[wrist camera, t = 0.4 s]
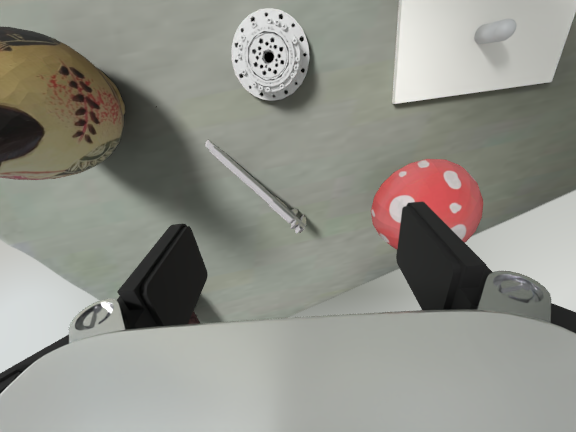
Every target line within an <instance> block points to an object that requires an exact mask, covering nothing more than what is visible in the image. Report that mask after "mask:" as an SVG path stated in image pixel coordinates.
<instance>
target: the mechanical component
mask: <svg viewBox="0 0 576 432" xmlns="http://www.w3.org/2000/svg"><path fill="white" fill-rule="evenodd" d="M266 14H268V16H267V17H266V16H265V15H266ZM280 15H282V16H283V19H279V16H280ZM253 18H255V21H252V19H253ZM292 25H295V27H292ZM243 29H244V31H243ZM242 31H243V33H242ZM301 37H302V38H303V39H304V41H302V42H301V41H300V40H299V39H300V38H301ZM284 42H285V43H284ZM237 43H238V47H236V45H237ZM267 43H269V44H268V45H267V46H266V44H267ZM285 44H286V45H285ZM276 46H277V48H276V49H274V47H276ZM271 47H272V49H271ZM287 47H288V49H287ZM259 48H262V49H261V50H260V49H259ZM280 48H282V49H283V51H280ZM270 50H271V51H270ZM268 51H269V52H272V53H273V55H274V60H273V61H272V62H271V63H267V62H266V59H265V58H264V55H265V54H267V53H268ZM264 52H265V53H264ZM266 52H267V53H266ZM260 53H261V55H260ZM304 54H306V57H304V56H303V55H304ZM278 55H281V57H280V58H278ZM288 55H289V57H288ZM257 57H259V59H257ZM309 59H310V58H309V46H308V42H307V39H306V36H305V34H304V31H303V29H302V27H301V26H300V25H299V24H298V22H297V21H296V20H295V19H294V18H293V17H291V16H290V15H289V14H287V13H285V12H283V11H281V10H278V9H273V8H268V9H260V10H258V11H255V12H253V13H251V14H250V15H249V16H247V17H246V18H245V19H244V20H243V21H242V23H241V24H240V25H239V27H238V28H237V31H236V33H235V35H234V39H233V43H232V63H233V67H234V71H235V74H236V76H237V78H238V79H239V81H240V83H241V84H242V85H243V86H244V88H245V89H246V90H247V91H248V92H250V93H251V94H252V95H254V96H256V97H258V98H260V99H263V100H269V101H273V100H280V99H283V98H285V97H287V96H289V95H291V94H293V93H294V92H295V91H296V90H297V88H298V87H299V86H300V85H301V84H302V82H303V80H304V78H305V76H306V74H307V70H308V64H309ZM237 60H238V62H237ZM276 60H278V61H277V62H276ZM282 60H284V64H283V63H282V64H281V61H282ZM265 62H266V63H265ZM277 63H278V67H276V64H277ZM262 65H263V67H264V68H262V67H261V66H262ZM266 66H267V68H266ZM269 68H271V71H269ZM302 68H304V70H305V71H304V73H302V72H301V71H300V70H301V69H302ZM275 70H277V73H274V71H275ZM264 71H266V73H265V72H264ZM283 72H284V73H283ZM282 73H283V74H282ZM241 74H243V78H242V77H241ZM278 77H279V78H278ZM272 79H274V80H272ZM295 82H297V83H298V84H297V85H295ZM250 86H251V87H252V88H250ZM285 90H287V91H288V93H287V94H285V92H284V91H285ZM261 92H262V93H263V94H264V95H263V96H262V95H260V93H261ZM273 95H275V97H273Z"/></svg>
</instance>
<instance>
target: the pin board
mask: <svg viewBox="0 0 576 432" xmlns="http://www.w3.org/2000/svg"><path fill="white" fill-rule="evenodd" d="M575 13H576V0H399V8H398V23H397V38H396V53H395V68H394V83H393V98H392V103H393V104H397V103H405V102H412V101H419V100H426V99H433V98H440V97H448V96H455V95H462V94H469V93H476V92H483V91H491V90H498V89H505V88H512V87H519V86H526V85H534V84H541V83H548V82H552V79H553V77H554V74H555V71H556V68H557V65H558V62H559V59H560V56H561V53H562V50H563V47H564V45H565V42H566V39H567V36H568V33H569V30H570V27H571V24H572V21H573V18H574V15H575Z"/></svg>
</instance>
